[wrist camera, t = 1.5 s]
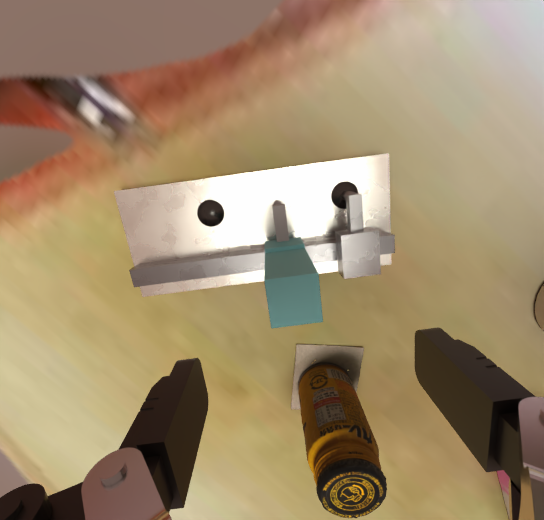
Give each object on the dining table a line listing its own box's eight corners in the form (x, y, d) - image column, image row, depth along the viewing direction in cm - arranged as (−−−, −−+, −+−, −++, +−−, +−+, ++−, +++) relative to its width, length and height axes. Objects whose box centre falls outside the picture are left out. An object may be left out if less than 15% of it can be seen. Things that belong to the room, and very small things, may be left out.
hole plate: (382, 154, 26) (411, 148, 21) (385, 260, 29) (411, 278, 24) (122, 190, 27) (86, 193, 21) (148, 290, 29) (123, 315, 24)
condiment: (290, 407, 34) (303, 527, 22) (296, 343, 32) (313, 439, 20) (353, 409, 34) (397, 529, 22) (363, 346, 32) (418, 442, 20)
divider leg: (294, 197, 25) (312, 210, 15) (301, 270, 27) (323, 326, 17) (259, 202, 25) (255, 218, 15) (270, 274, 27) (272, 333, 17)
